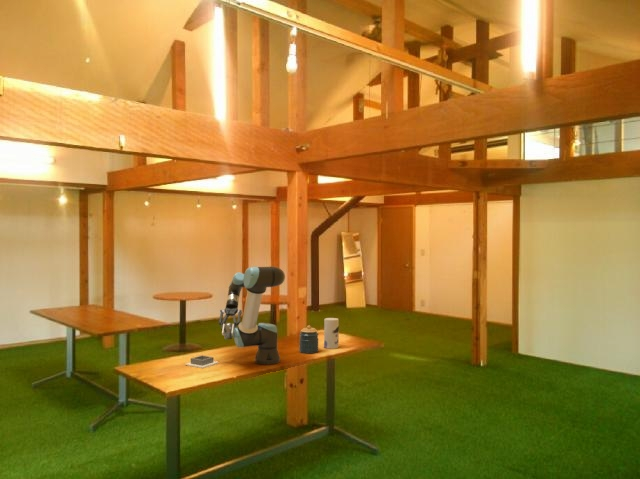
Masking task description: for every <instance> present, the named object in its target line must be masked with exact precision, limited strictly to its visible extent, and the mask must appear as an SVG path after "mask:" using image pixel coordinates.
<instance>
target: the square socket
mask: <svg viewBox="0 0 640 479" xmlns="http://www.w3.org/2000/svg"><path fill="white" fill-rule="evenodd" d="M219 363H220V362H219V361H216V360H214V356H208V355H203V354H202V355H198V356H193V357H191V358H190V362H186V363H184V366H186V365H187V367H191V368H199V369H205V368H208V367H211V366H215V365H217V364H219Z"/></svg>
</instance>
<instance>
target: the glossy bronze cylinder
mask: <svg viewBox="0 0 640 479" xmlns="http://www.w3.org/2000/svg"><path fill="white" fill-rule="evenodd" d="M233 324H234V322H226V323H225V331H224V335H223V336H224V338H223V339H225V340H231V339H234V334H233V335H232V333H231V332H232V325H233Z"/></svg>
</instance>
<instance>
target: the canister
mask: <svg viewBox="0 0 640 479" xmlns="http://www.w3.org/2000/svg"><path fill="white" fill-rule="evenodd" d="M298 335H299V338H298V339H299V346H298V350H299V352H300V353H301V354H307V355H308V354H316V353H318V352H319V333H318V330H317V329H316V328H315V327H312V326H311V325H310V324H309V325H307V326H306V327H303V328H302V329H300V333H299V334H298Z"/></svg>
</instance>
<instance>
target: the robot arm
mask: <svg viewBox="0 0 640 479" xmlns="http://www.w3.org/2000/svg"><path fill="white" fill-rule="evenodd" d="M285 279H286V275H285V272H284V271H283V269H281V268H279V267H277V266H252V267H251V266H250V267H247V269H246V270H245V271H244V273H243V272H236V273H235V274H234V275H233V276H232V279H231V282H230V284H229V286H228V291H227V298H226V303H225V308H224V309H220V310H219V311H220V313H219V314H220V315H219V320H218V324H219V325H220V326H221V327H220V329H221V335H222V336H224V332H225V323H227V320H228V318H229V317H232V320H233V325H232V332H231V333H232V335H233V339H234V343H235V345H236V347H237V348H246V347H248V348H249V347H257V351H256V355H255V358H254V363H255V364H257V365H264V366H265V365H276V364H278V363H280V362H281V360H280V359H281V357H280V354H279V351H278V328H277V327H278V326H277V325H276V324H272V323H268V322H267V323H266V322H259V323H257V322H258V318H259V312H260V307H261V302H262V298H263V294H265V293H266V291H267V288H274V287H275V288H276V287H279V286H281V285H282V284H283V283H284V282H285ZM243 288H244V289H246V292H247V294H246V297H245V302H244V307H243V308H244V309H243V311H242V309H239V303H240V294H241V291H242V289H243ZM224 314H225V315H224ZM236 315H237V321H236ZM241 316H242V320H241Z"/></svg>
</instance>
